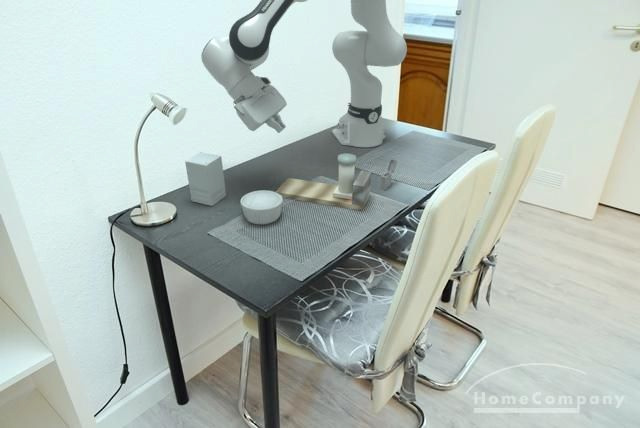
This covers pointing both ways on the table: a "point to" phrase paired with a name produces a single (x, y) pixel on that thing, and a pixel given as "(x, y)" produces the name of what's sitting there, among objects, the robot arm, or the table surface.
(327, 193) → the rail mount
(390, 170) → the lighter
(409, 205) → the table surface
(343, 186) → the white upright cylinder
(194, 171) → the supplement box
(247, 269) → the table surface
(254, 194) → the ramekin
